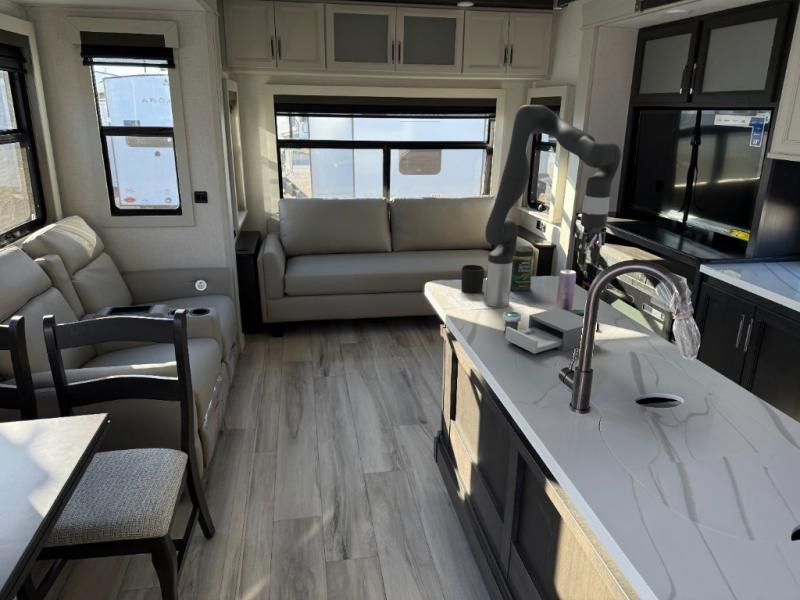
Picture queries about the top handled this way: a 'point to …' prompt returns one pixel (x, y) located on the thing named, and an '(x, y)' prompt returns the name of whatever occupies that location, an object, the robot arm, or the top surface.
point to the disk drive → (580, 314)
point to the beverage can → (566, 289)
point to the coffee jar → (521, 268)
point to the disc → (512, 316)
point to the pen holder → (472, 279)
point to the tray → (532, 339)
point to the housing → (559, 326)
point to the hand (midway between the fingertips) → (588, 262)
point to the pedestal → (511, 325)
